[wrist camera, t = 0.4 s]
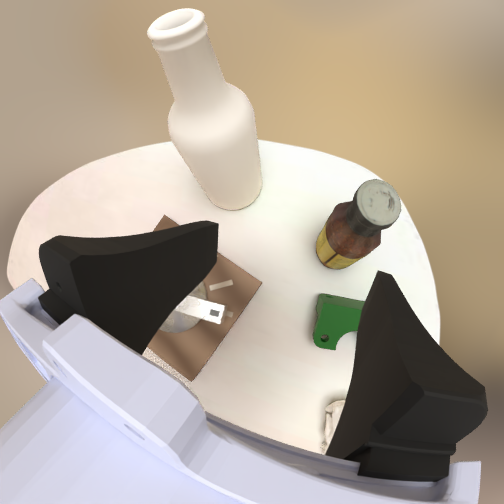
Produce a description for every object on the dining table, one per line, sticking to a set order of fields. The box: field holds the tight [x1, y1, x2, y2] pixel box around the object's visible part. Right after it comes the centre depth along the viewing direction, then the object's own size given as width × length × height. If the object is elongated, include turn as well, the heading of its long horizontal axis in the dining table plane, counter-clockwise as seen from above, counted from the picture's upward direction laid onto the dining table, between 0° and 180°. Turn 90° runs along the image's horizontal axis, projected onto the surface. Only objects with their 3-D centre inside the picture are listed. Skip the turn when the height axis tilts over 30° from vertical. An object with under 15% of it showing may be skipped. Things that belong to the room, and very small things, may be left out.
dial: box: [159, 281, 228, 333], centre depth 35 cm, size 13×10×4 cm
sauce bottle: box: [316, 179, 401, 269], centre depth 29 cm, size 7×6×20 cm
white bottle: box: [147, 9, 262, 210], centre depth 27 cm, size 9×9×30 cm
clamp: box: [313, 294, 365, 350], centre depth 34 cm, size 12×6×9 cm, turn 71°
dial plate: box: [147, 215, 262, 382], centre depth 38 cm, size 18×18×2 cm
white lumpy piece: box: [322, 400, 345, 455], centre depth 30 cm, size 6×8×12 cm
